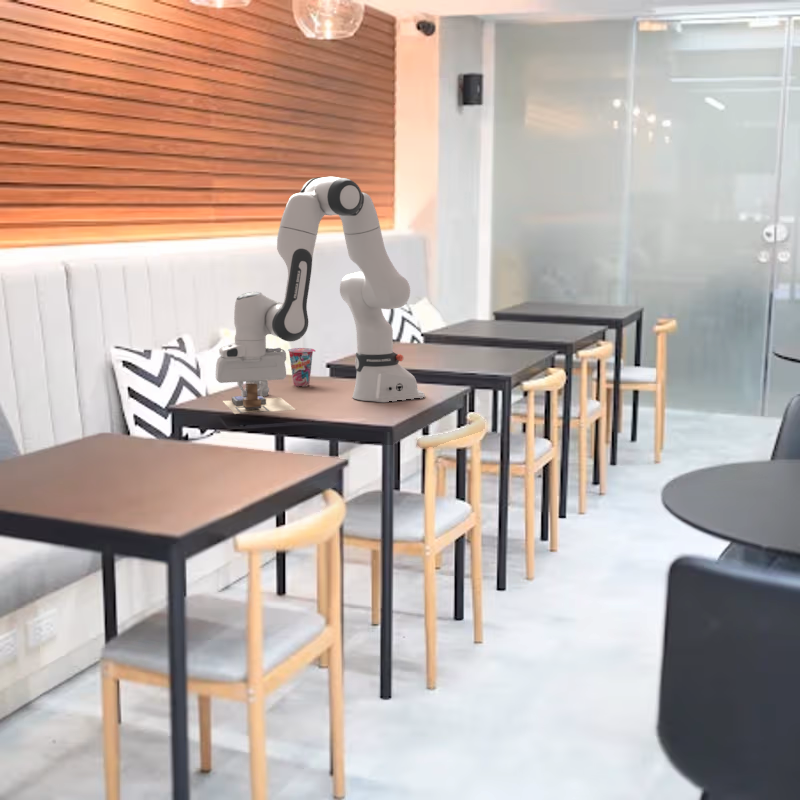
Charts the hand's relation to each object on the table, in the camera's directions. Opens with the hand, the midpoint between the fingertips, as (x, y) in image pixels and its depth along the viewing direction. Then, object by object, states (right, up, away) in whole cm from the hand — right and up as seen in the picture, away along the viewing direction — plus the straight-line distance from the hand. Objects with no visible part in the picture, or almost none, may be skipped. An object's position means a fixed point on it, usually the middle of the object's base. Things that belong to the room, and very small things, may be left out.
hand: (251, 396), depth 322 cm
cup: (+11, +4, +48) cm, 49 cm away
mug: (-3, 0, +28) cm, 28 cm away
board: (+1, -4, +8) cm, 8 cm away
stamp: (0, -3, 0) cm, 3 cm away
